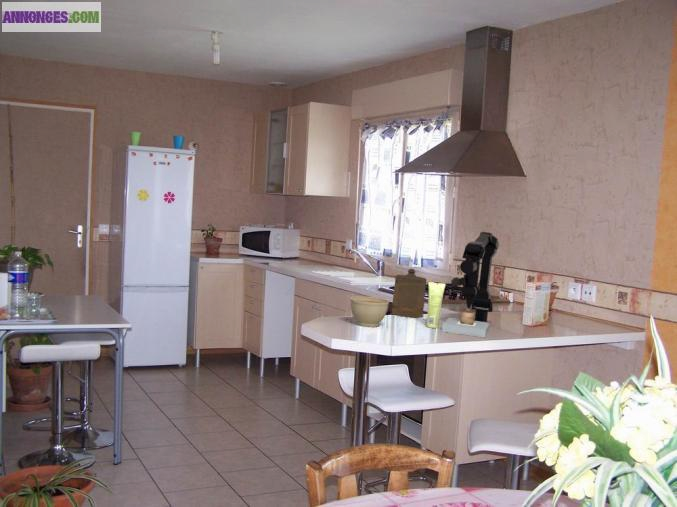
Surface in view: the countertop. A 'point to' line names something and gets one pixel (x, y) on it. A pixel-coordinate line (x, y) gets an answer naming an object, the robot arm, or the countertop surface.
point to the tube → (434, 303)
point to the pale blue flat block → (465, 327)
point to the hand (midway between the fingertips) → (468, 308)
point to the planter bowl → (368, 310)
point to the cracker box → (536, 303)
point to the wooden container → (409, 295)
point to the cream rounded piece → (467, 317)
